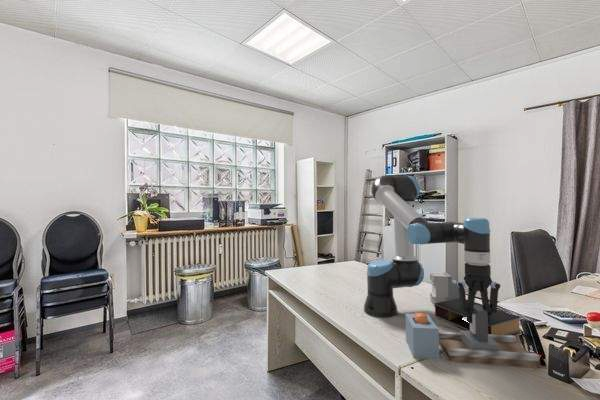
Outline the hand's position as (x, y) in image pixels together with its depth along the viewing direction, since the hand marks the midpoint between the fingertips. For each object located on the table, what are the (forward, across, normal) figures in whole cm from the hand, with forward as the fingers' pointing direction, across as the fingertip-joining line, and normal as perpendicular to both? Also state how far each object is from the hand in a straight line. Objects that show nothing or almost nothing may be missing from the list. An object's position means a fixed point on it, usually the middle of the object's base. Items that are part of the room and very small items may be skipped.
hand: (478, 332), depth 97 cm
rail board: (+7, +1, 0) cm, 7 cm away
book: (+8, +9, +24) cm, 27 cm away
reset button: (-1, -19, 0) cm, 19 cm away
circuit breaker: (+7, +6, +47) cm, 48 cm away
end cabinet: (+7, -19, 0) cm, 20 cm away
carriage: (+5, 0, 0) cm, 5 cm away
